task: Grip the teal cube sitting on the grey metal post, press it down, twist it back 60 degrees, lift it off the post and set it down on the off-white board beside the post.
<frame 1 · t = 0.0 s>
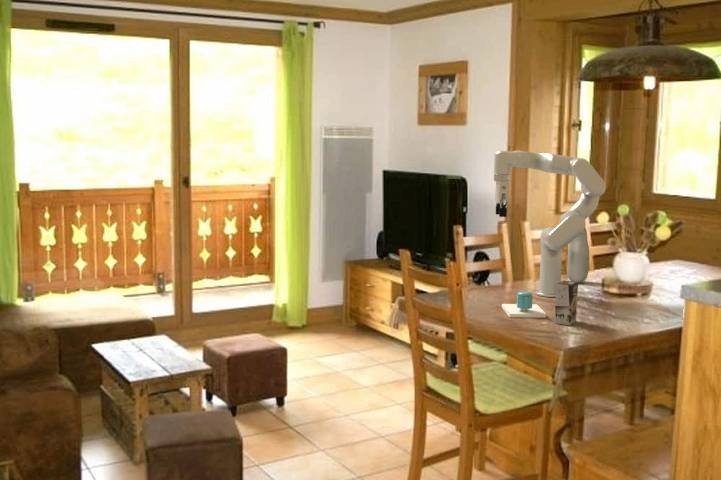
hand: (500, 215, 358), 37 cm above the table, tool pointing down, fingers open, 9 cm apart
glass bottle: (576, 282, 392), on the table
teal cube: (524, 307, 323), point 3 cm above the table, touching mount
mount: (523, 312, 327), on the table
coffee box: (565, 322, 311), on the table
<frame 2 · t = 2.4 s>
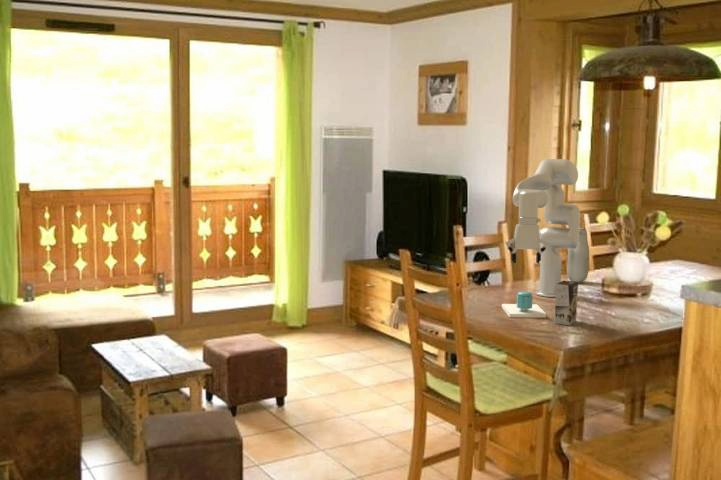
hand: (525, 262, 320), 22 cm above the table, tool pointing down, fingers open, 9 cm apart
nothing on the table moved.
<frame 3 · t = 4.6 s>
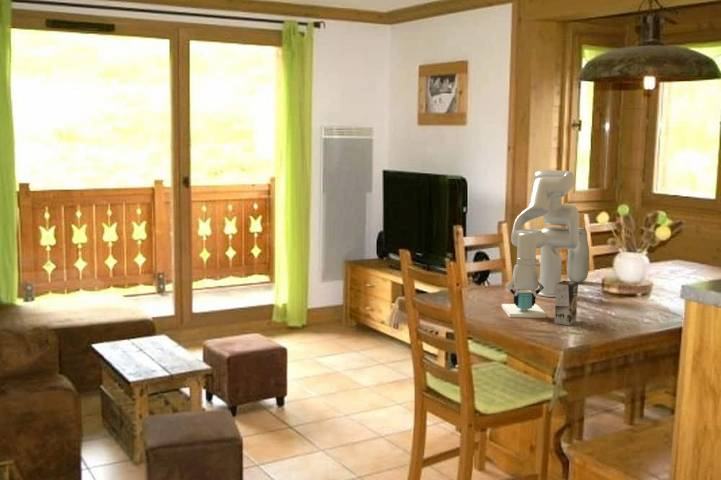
hand: (524, 304, 323), 4 cm above the table, tool pointing down, fingers closed on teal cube, 6 cm apart
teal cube: (524, 307, 323), point 3 cm above the table, touching gripper, mount
everything else where it was.
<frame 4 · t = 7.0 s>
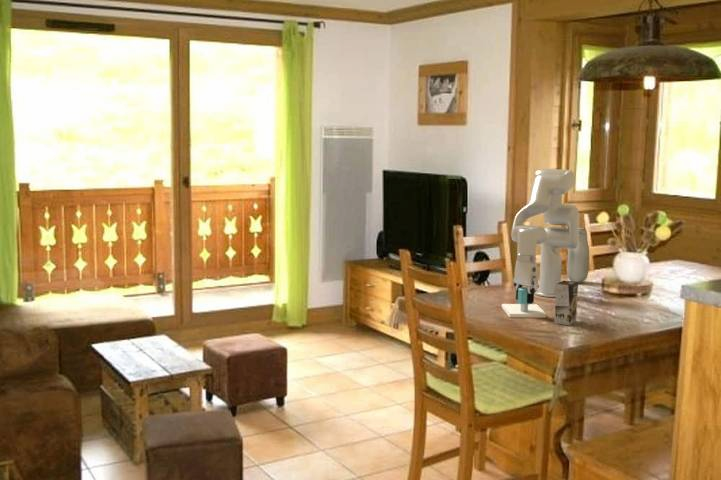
hand: (524, 300, 323), 6 cm above the table, tool pointing down, fingers closed on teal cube, 6 cm apart
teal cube: (524, 302, 323), point 5 cm above the table, touching gripper
everything else where it was.
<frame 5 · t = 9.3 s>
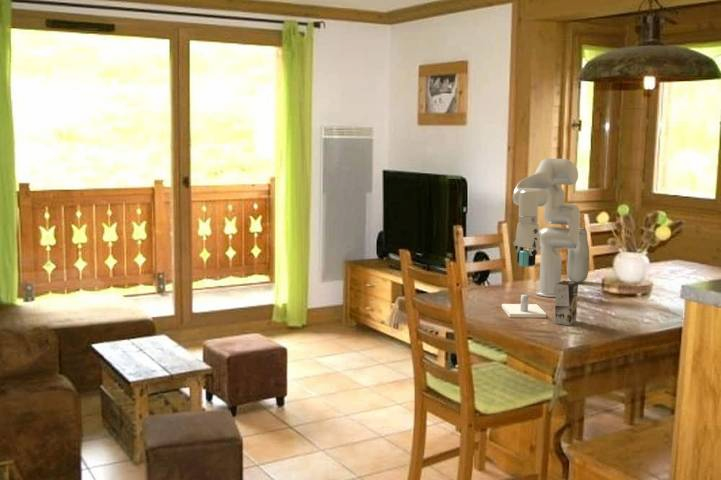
hand: (526, 263, 321), 21 cm above the table, tool pointing down, fingers closed on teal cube, 6 cm apart
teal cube: (526, 265, 321), point 21 cm above the table, touching gripper
everything else where it was.
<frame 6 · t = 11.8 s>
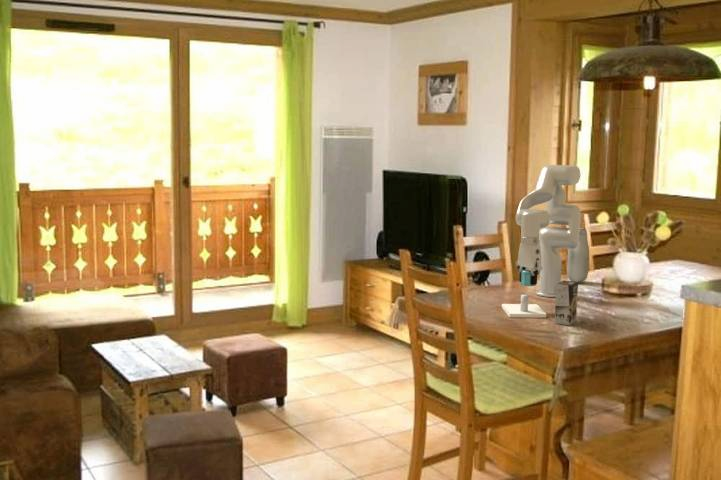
hand: (528, 282, 330), 12 cm above the table, tool pointing down, fingers closed on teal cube, 6 cm apart
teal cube: (528, 284, 330), point 11 cm above the table, touching gripper
everything else where it was.
when the fingers open (4 cm above the table, at t = 14.2 s): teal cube drops 1 cm, resting on mount.
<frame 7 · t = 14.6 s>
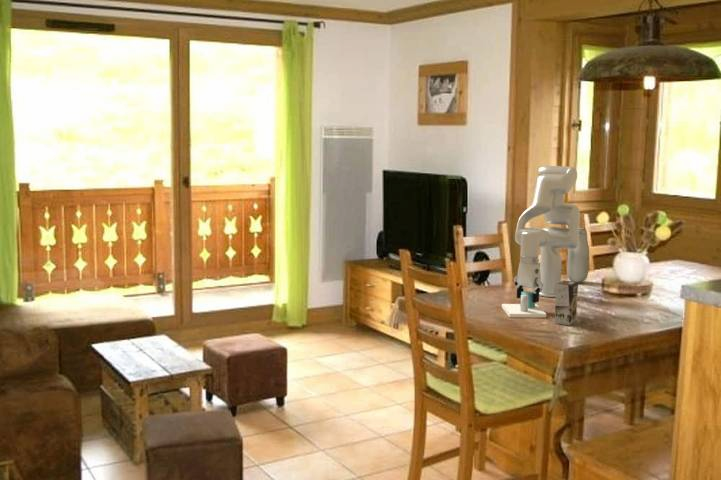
hand: (527, 300, 331), 4 cm above the table, tool pointing down, fingers open, 9 cm apart
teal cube: (527, 306, 331), point 1 cm above the table, touching mount
everything else where it was.
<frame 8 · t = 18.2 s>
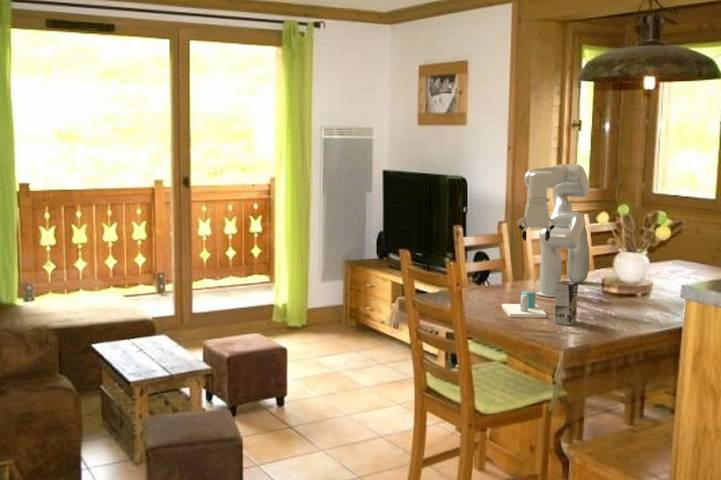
hand: (535, 240, 339), 28 cm above the table, tool pointing down, fingers open, 9 cm apart
nothing on the table moved.
at the end: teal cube inside the target area on the mount (0.3 cm from its centre), point 1.5 cm above the mount's base; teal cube tilted 0°; the gripper is holding nothing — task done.
